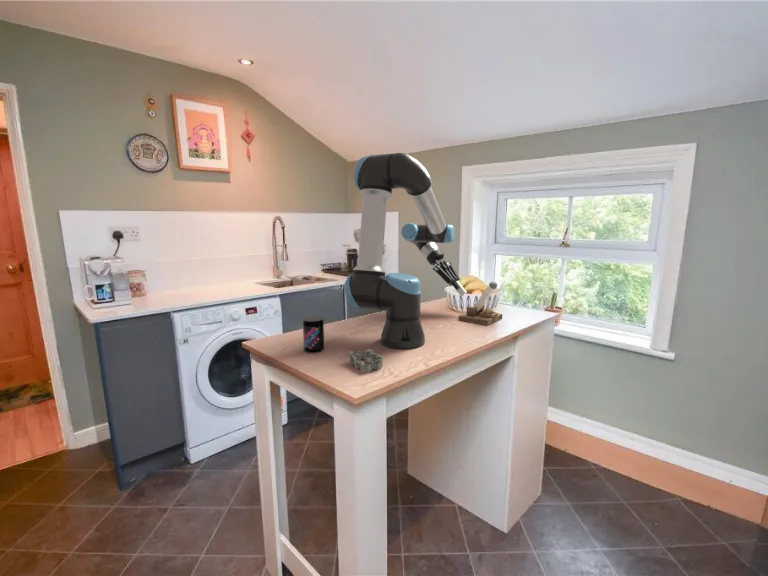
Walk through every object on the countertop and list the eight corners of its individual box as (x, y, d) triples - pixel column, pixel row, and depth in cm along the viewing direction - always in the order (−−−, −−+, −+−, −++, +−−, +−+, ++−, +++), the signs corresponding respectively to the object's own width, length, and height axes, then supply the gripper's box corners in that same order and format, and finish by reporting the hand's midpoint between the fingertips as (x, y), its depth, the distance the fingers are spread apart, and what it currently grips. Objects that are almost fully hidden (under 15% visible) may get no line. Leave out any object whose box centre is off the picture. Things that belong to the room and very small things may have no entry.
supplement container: (300, 349, 123) (298, 318, 121) (318, 345, 127) (317, 315, 125) (309, 354, 118) (308, 322, 116) (328, 350, 122) (327, 319, 120)
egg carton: (346, 362, 112) (346, 349, 111) (368, 358, 116) (368, 345, 115) (362, 374, 103) (362, 360, 102) (386, 369, 106) (386, 355, 106)
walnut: (490, 317, 154) (491, 309, 153) (482, 316, 156) (482, 307, 156) (494, 316, 157) (494, 307, 156) (486, 314, 159) (486, 306, 158)
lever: (474, 315, 158) (495, 285, 150) (468, 310, 160) (489, 280, 152) (479, 313, 162) (500, 284, 154) (474, 308, 163) (494, 279, 155)
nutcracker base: (487, 325, 150) (488, 312, 149) (458, 320, 158) (459, 307, 157) (502, 318, 160) (503, 306, 159) (474, 313, 169) (474, 301, 168)
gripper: (435, 258, 178) (465, 297, 170) (419, 260, 168) (450, 301, 160) (445, 247, 173) (477, 287, 165) (429, 249, 164) (462, 291, 156)
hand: (464, 294), depth 163 cm, fingers closed
